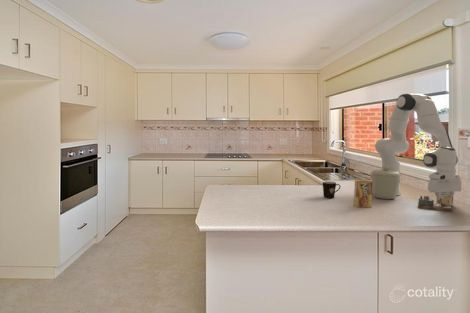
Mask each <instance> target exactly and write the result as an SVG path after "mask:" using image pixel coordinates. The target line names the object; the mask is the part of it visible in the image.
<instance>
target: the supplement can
mask: <svg viewBox="0 0 470 313" xmlns="http://www.w3.org/2000/svg"><path fill="white" fill-rule="evenodd" d="M440 196H445V197H447V196H449V192H440ZM436 204H441V203H438V202H436ZM453 204H454V195H453V196H452V204H446V205H450V206H451V207H452V205H453Z"/></svg>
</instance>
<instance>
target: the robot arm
mask: <svg viewBox="0 0 470 313" xmlns="http://www.w3.org/2000/svg"><path fill="white" fill-rule="evenodd" d="M414 112H415V113H416V117H417V118H416V119H417V124H418V128H420V130H421V131H423V132H424V133H427V134H429V135H431V136H433V137H435V138H436V139H437V141H438V145H439V147H438V148H436V149H435V150H433V151H427V152H426V153H425V154H424V156H423V158H422V161H423V162H422V163H423V164H424V166H426V168H431V169H436V171H434V172H432V173H430V174H428V178H429V179H428V185H427V190H428V192H429V193H433V194H434V195H435V196H436V198H437V200H441V197H440V192H449V196H447V197H450V198H452V196H453V197H454V196H455V193H457V192H461V191H462V180H461V176H460V175H458V174H456V172H457V171H456V165H457V164H458V161H459V160H458V155H457V150H456V149H455V148H454V147H453V145H452V141H451V138H450V135H449V132H448V129H447V128H446V127H445V125H443V123H442V122H441V119H440V115H439V110H438V107H437V105H436V102H435V101H434V100H433V99H432V97H431V96H429V95H426V94H420V93H403V94H400V95H399V96H398V97H397V99H396V104H395V106H394V107H393V110H392V112H391V116H390V119H389V121H388V127H387V129H388V131H389V132H390V137H387V138H386V137H384V138H380V139H378V140H376V142H375V144H374V149H375V151H376V153H378V154H379V156H380V159H381V166H382V167H381V170H383V167H384V166H388V167H389V170H391V171H397V172H399V173H400V174H401V162H400V161H399V160H398V159H397V156H396V155H398V154H399V155H400V154H404V153H406V152H408V151H409V150H410V143H409V141H408V140H407V135H406V134H407V132H406V131H407V129H408V128H407V127H408V125H409V120H410V116H411V115H412V113H414ZM399 183H401V178H400V179H399ZM400 186H401V185H400V184H399V185H398V190H397V195H396V196H401V195H402V193H401V189H400V188H401V187H400ZM372 195H373V188H372Z"/></svg>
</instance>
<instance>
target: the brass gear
mask: <svg viewBox="0 0 470 313" xmlns="http://www.w3.org/2000/svg"><path fill="white" fill-rule="evenodd" d="M440 197H444V198H441V200H437V197H436V199H435V201H436V203H437V202H438V203H442V204H452V198H450V197H445V196H440ZM438 203H437V204H438Z"/></svg>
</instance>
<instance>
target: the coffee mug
mask: <svg viewBox="0 0 470 313" xmlns="http://www.w3.org/2000/svg"><path fill="white" fill-rule="evenodd" d="M337 186H339V187H338V188H337V190H336V187H337ZM340 189H341V184H339V183H337V182H336V181H328V180H326V181H322V193H323V198H324V199H331V200H332V199H335V193H337V192H338V191H339V190H340Z"/></svg>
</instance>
